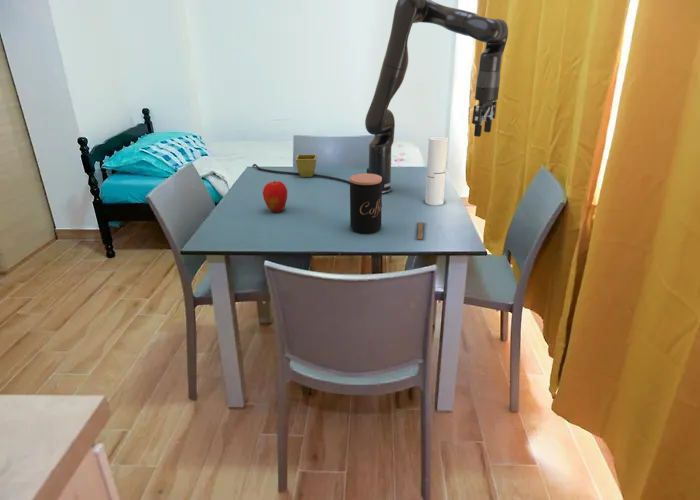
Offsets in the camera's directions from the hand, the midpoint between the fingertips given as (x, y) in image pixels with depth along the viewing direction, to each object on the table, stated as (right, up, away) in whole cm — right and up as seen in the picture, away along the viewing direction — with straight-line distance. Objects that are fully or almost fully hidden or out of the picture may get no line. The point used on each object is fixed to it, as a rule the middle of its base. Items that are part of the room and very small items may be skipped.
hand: (482, 134), depth 169 cm
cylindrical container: (-13, -22, +23) cm, 34 cm away
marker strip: (-22, -34, -4) cm, 41 cm away
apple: (-74, -25, +16) cm, 80 cm away
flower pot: (-66, -6, +58) cm, 88 cm away
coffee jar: (-41, -33, -1) cm, 52 cm away
